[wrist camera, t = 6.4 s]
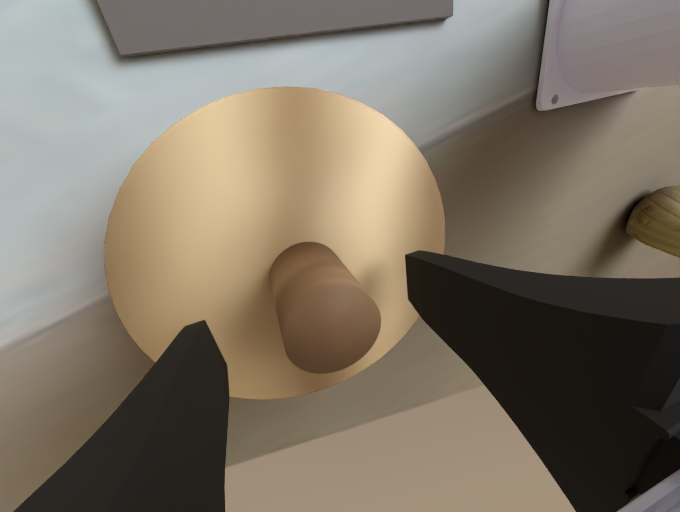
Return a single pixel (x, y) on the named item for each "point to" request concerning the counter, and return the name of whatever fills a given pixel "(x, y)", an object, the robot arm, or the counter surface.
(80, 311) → the counter surface
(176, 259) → the lid
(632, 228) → the fennel bulb
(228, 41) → the mat
